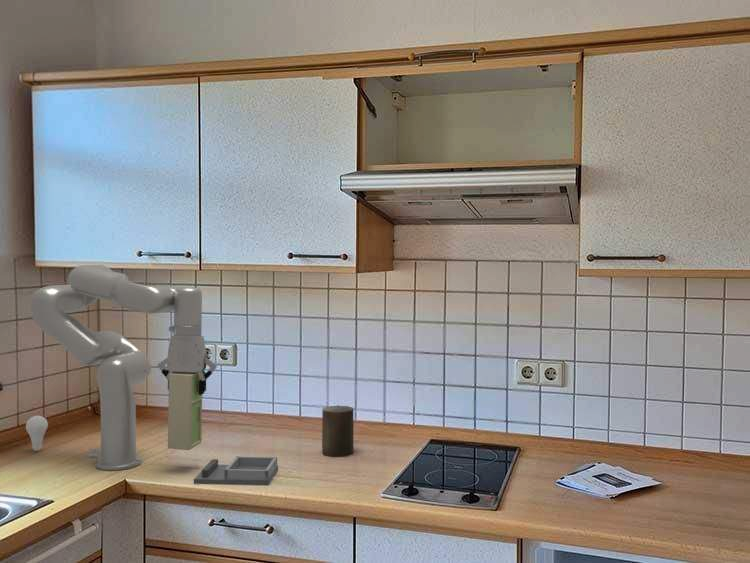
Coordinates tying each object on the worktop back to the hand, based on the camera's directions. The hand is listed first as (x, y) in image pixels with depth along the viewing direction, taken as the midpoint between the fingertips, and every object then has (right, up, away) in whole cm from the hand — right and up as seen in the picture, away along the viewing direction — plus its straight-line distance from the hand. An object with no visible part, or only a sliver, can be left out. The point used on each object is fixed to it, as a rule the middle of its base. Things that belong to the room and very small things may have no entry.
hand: (186, 393), depth 196 cm
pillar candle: (+42, -21, +18) cm, 50 cm away
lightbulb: (-52, -21, +19) cm, 59 cm away
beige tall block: (0, -15, +1) cm, 15 cm away
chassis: (+15, -22, -5) cm, 27 cm away
